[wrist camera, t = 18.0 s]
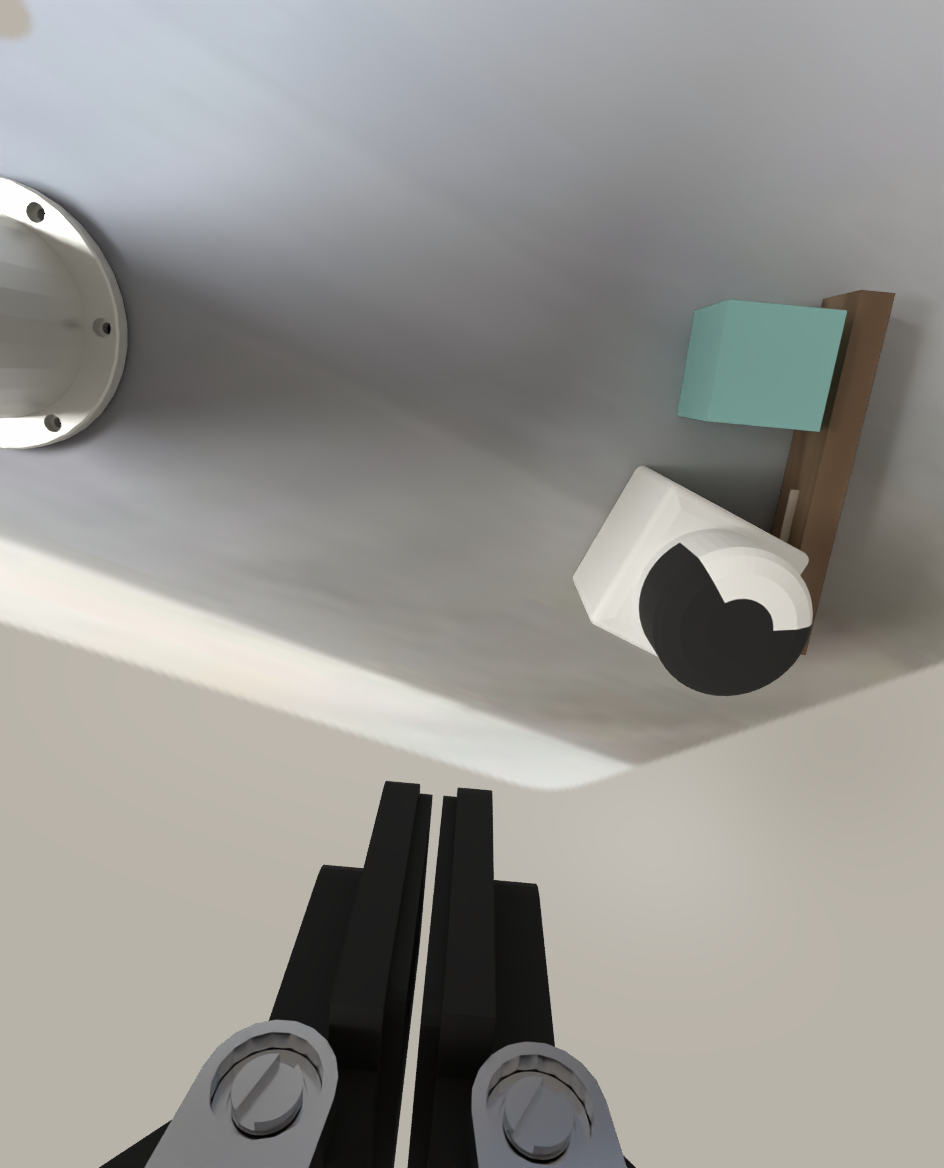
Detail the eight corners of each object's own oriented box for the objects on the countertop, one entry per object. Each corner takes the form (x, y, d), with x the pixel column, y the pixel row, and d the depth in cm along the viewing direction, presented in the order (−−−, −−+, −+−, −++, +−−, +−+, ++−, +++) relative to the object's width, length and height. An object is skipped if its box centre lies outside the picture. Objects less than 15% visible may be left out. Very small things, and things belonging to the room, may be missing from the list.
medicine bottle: (680, 636, 38) (764, 746, 27) (569, 579, 38) (606, 667, 26) (753, 524, 36) (877, 592, 25) (637, 462, 36) (710, 501, 24)
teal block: (676, 415, 35) (706, 421, 30) (694, 310, 34) (729, 299, 29) (773, 424, 35) (819, 431, 30) (795, 320, 34) (847, 310, 29)
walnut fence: (743, 627, 38) (768, 651, 35) (814, 298, 33) (852, 289, 30) (777, 630, 38) (805, 654, 35) (853, 302, 33) (895, 293, 30)
